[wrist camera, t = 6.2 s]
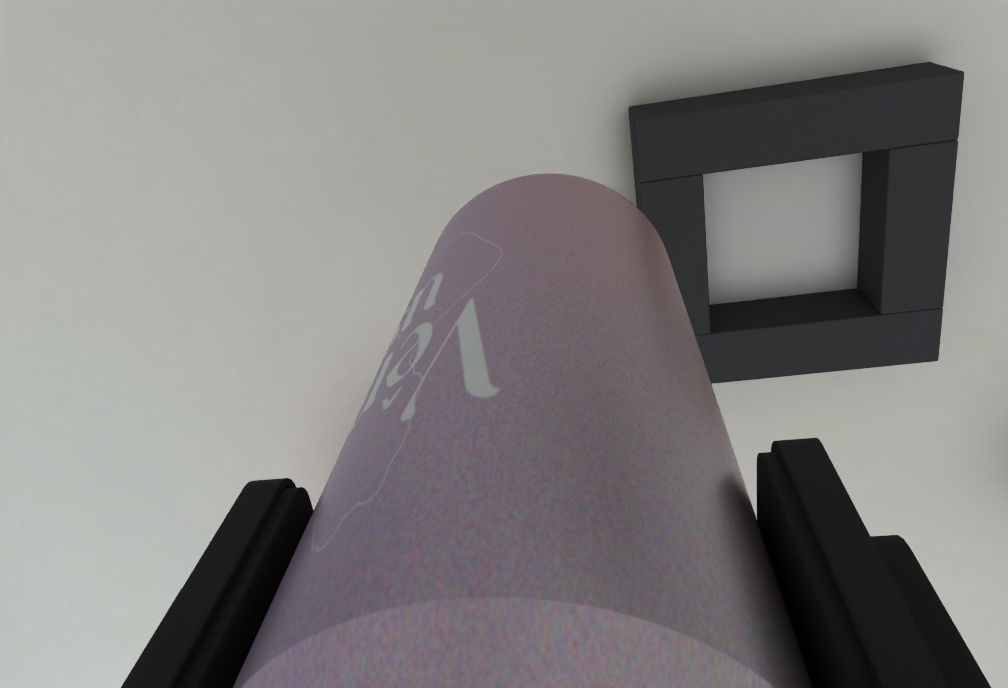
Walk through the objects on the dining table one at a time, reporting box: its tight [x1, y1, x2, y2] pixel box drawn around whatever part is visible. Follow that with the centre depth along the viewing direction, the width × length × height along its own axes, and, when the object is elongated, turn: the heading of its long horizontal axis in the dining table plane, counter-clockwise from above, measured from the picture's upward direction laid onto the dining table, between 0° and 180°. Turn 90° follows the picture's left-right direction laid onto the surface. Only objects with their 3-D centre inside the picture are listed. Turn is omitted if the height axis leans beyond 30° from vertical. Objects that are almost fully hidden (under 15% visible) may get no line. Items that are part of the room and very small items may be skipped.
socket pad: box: [629, 62, 964, 384], centre depth 33 cm, size 12×12×3 cm
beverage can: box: [233, 174, 813, 688], centre depth 13 cm, size 6×6×15 cm
